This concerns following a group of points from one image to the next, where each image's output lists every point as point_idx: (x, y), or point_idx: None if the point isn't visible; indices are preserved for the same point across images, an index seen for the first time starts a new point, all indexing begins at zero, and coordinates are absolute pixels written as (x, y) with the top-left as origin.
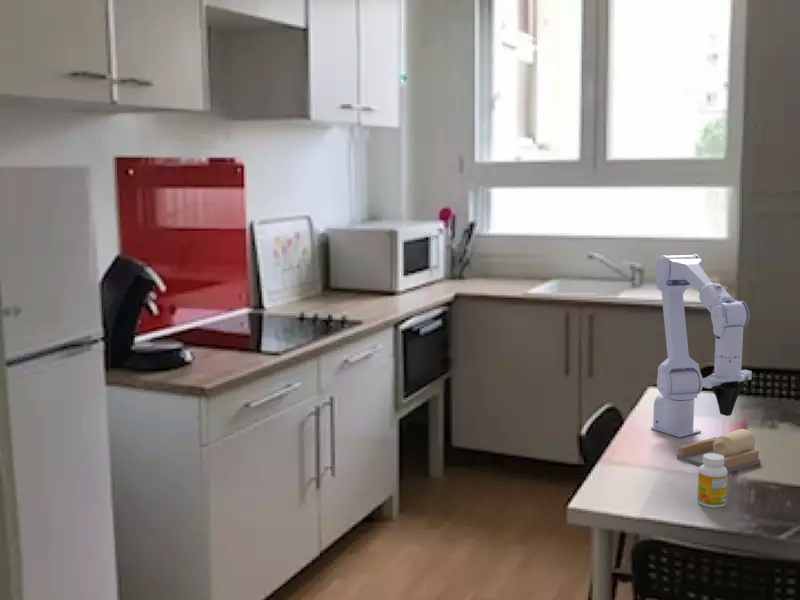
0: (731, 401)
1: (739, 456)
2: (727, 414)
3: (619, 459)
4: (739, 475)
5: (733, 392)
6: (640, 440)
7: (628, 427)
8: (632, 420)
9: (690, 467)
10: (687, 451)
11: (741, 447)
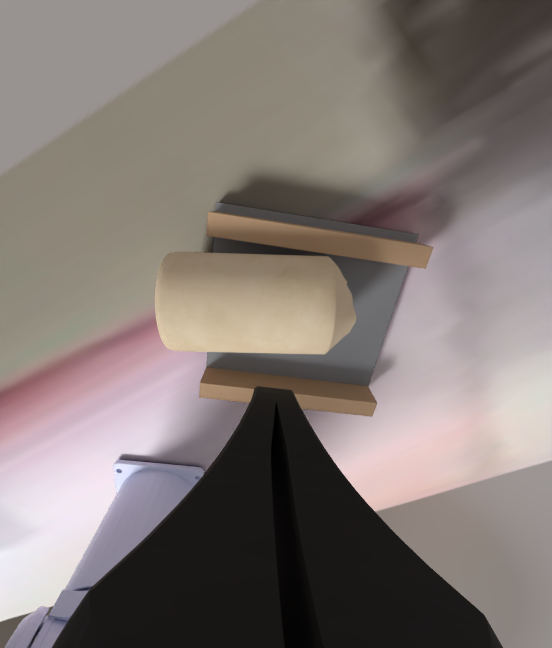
0: (296, 459)
1: (332, 231)
2: (294, 396)
3: (454, 467)
4: (392, 187)
5: (335, 565)
6: None
7: None
8: None
9: (411, 335)
10: (350, 391)
11: (279, 257)
